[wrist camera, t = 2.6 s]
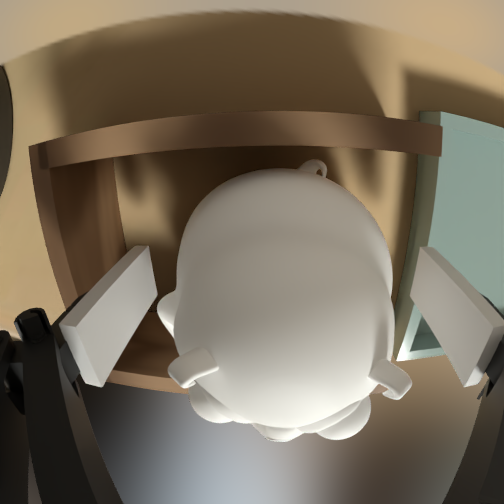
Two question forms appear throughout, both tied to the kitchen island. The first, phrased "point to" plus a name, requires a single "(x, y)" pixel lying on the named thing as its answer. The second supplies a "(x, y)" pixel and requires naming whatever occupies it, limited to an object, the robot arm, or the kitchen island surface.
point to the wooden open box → (164, 139)
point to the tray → (455, 222)
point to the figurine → (283, 306)
